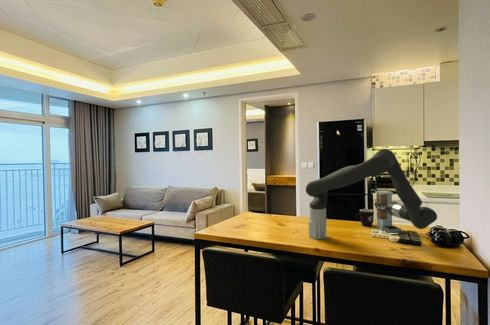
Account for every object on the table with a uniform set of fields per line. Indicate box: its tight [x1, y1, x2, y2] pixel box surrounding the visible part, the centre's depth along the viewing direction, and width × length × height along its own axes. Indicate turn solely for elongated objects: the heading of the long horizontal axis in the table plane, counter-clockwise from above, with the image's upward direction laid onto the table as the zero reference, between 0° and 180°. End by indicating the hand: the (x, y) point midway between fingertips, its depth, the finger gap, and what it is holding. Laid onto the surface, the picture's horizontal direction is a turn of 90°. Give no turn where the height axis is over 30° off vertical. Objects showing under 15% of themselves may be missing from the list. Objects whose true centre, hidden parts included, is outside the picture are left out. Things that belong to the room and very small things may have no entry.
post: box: [374, 190, 394, 231], centre depth 166 cm, size 7×7×24 cm
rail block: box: [375, 192, 388, 220], centre depth 152 cm, size 4×4×15 cm
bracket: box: [381, 224, 403, 234], centre depth 160 cm, size 8×7×3 cm
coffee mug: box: [355, 208, 375, 228], centre depth 177 cm, size 12×9×10 cm
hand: (378, 203), depth 154 cm, fingers closed on rail block, 4 cm apart
